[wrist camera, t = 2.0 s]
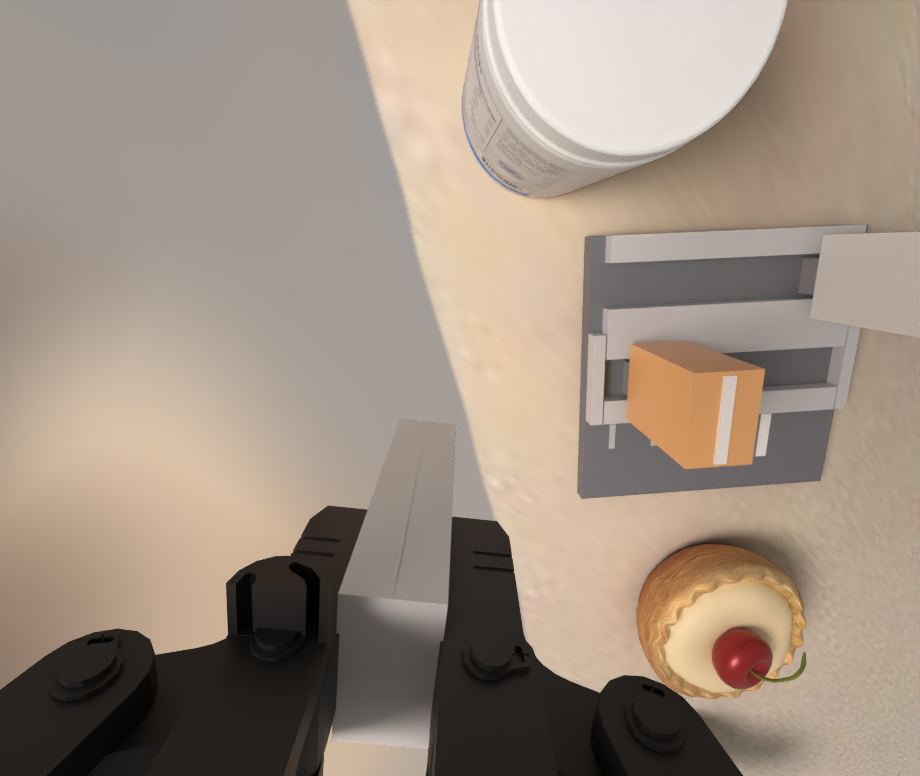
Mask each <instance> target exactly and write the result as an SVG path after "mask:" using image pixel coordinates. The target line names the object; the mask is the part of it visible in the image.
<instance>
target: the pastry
mask: <svg viewBox="0 0 920 776" xmlns="http://www.w3.org/2000/svg"><path fill="white" fill-rule="evenodd" d="M803 611H804V607H803V602H802V599H801V596H800V593H799V591H798V589H797V586H796V585H795V583H794V582H793V581H792V579H791V578H790V577H789V576H788V575H787V574H786V573H784V572H783V571H782V570H781V569H779V568H778V567H776V566H775V565H774V564H772V563H771V562H770V561H768V560H767V559H765V558H763V557H762V556H760V555H758V554H756V553H753V552H751V551H748V550H746V549H743V548H739V547H736V546H732V545H721V544H701V545H696V546H692V547H688V548H685V549H683V550H680V551H678V552H676V553H674V554H673V555H671V556H669V557H668V558H666V559H665V560H664V561H663V562H661V563H660V564H659V565H658V566H657V567H656V568H655V569H654V570H653V571H652V573H651V574H650V575H649V577H648V578H647V580H646V581H645V583H644V585H643V587H642V590H641V593H640V597H639V602H638V607H637V628H638V635H639V640H640V643H641V646H642V648H643V651H644V653H645V655H646V657H647V659H648V661H649V663H650V665H651V666H652V668H653V669H654V671H655V673H656V674H657V676H658V677H659V678H660V679H661V681H662V682H663V683H664V684H665V685H666V686H667V687H668V688H670V689H671V690H673V691H674V692H677V693H680V694H683V695H686V696H691V697H703V698H709V699H717V698H718V697H720V696H727V697H731V698H738V697H740V695H741V693H742V692H743V691H748V690H749V691H756V690H758V689H759V688H761V685H762V683H763V682H764V681H767V682H775V683H777V682H785V681H790V680H793V679H796V678H797V677H799V676H800V675H801V674H802V672H803V671H804V669H805V666H806V653H805V652H804V653H803V656H802V661H801V666H800V668H799V670H798V671H797V672H796V673H795V674H794V675H792V676H790V677H786V678H781V679H775V678H776V677H777V676H778V673H779V670H780V669H781V667H782V666H784V665H787V664H790V663H791V662H792V661H793V655H794V652H795V649H796V648H797V647H802V644H803V636H802V629H805V627H806V621H805V618H804V615H803Z"/></svg>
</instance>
